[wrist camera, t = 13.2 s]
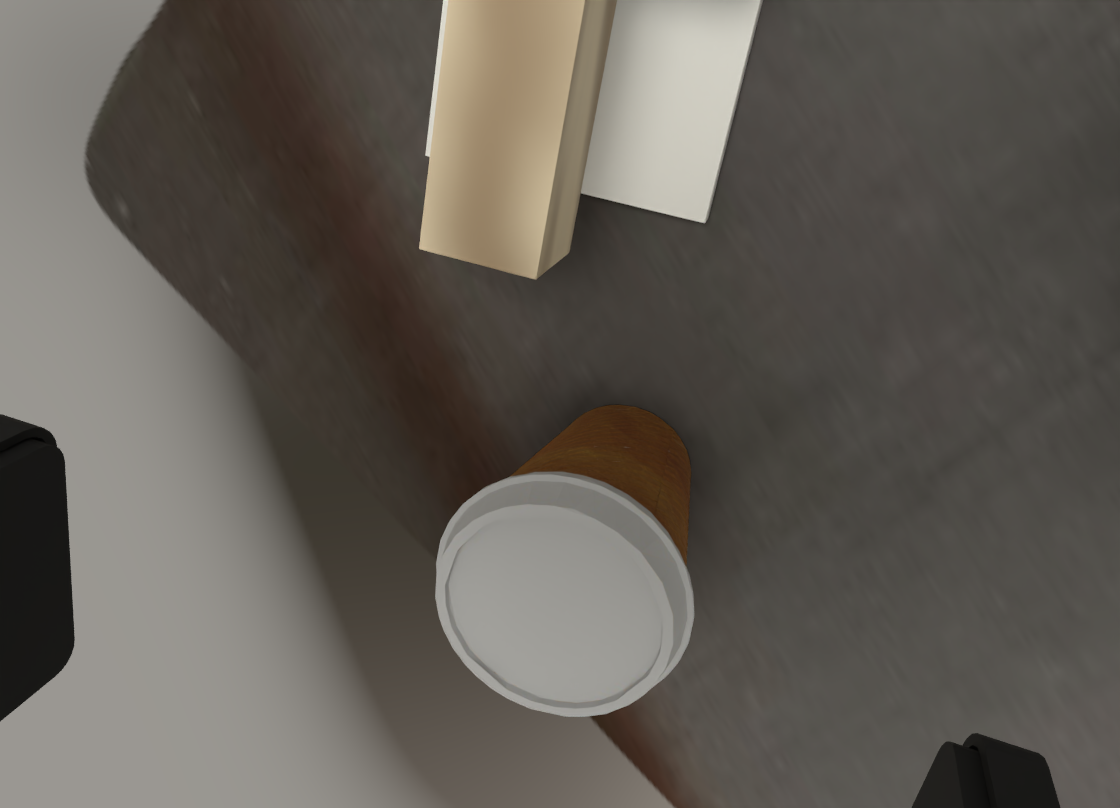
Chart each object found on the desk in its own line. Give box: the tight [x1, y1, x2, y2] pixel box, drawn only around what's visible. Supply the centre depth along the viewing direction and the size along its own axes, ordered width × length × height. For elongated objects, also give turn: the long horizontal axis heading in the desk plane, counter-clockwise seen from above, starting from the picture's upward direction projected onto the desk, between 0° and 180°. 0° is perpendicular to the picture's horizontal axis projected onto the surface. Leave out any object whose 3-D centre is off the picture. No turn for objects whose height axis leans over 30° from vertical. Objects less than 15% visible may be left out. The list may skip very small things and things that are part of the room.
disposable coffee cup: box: [435, 405, 694, 717], centre depth 37 cm, size 10×10×12 cm
